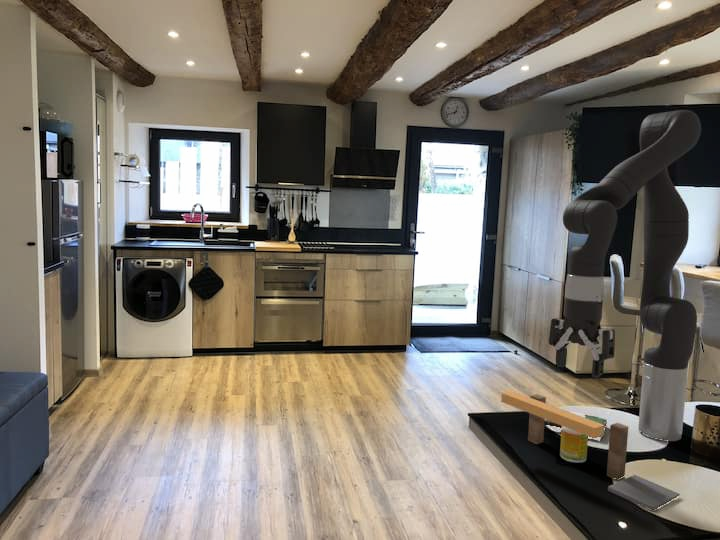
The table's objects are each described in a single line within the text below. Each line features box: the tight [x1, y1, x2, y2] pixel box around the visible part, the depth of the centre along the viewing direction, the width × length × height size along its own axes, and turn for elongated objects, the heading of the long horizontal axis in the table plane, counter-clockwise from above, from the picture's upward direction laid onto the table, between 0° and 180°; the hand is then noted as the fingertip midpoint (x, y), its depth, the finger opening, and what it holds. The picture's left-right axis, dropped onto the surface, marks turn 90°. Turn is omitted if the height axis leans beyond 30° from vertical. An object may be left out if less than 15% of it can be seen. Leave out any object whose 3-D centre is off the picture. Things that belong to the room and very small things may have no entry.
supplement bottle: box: [559, 411, 589, 464], centre depth 125 cm, size 5×5×10 cm
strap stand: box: [527, 393, 629, 479], centre depth 125 cm, size 2×22×11 cm, turn 34°
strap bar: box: [500, 390, 605, 438], centre depth 119 cm, size 3×23×2 cm, turn 34°
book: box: [607, 474, 681, 512], centre depth 110 cm, size 9×9×1 cm
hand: (578, 371), depth 123 cm, fingers open, 8 cm apart
